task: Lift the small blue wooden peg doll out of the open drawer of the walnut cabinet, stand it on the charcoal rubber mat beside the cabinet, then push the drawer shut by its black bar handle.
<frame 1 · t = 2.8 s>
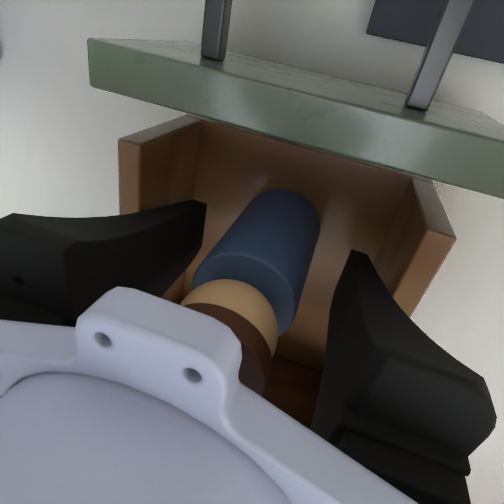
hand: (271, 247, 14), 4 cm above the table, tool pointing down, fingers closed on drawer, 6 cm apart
peg doll: (281, 225, 15), point 2 cm above the table, touching drawer
drawer: (277, 221, 13), point 4 cm above the table, slide at 10.5 cm, touching gripper, peg doll
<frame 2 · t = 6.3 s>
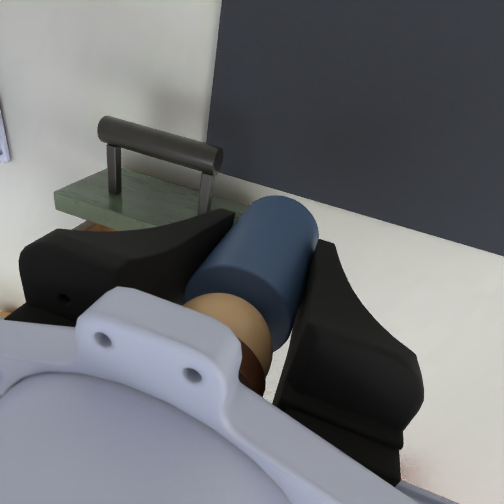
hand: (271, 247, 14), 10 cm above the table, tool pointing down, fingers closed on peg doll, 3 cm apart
mat: (388, 93, 19), on the table
peg doll: (278, 232, 15), point 9 cm above the table, touching gripper
drawer: (161, 264, 25), point 4 cm above the table, slide at 10.5 cm
when the fingers open (2 cm above the table, at t = 9.0 s): peg doll stays where it is, resting on mat.
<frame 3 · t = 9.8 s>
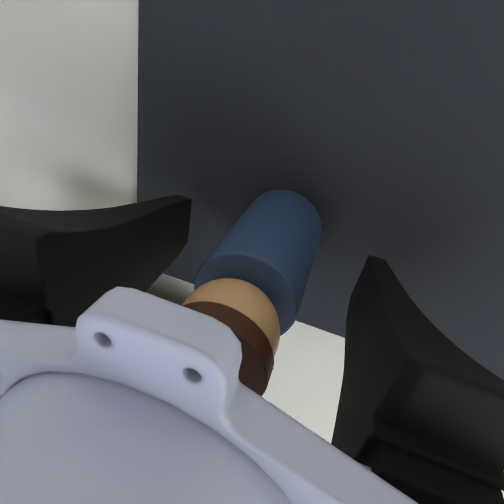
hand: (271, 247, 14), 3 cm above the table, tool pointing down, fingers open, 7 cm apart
mat: (359, 198, 14), on the table
peg doll: (283, 225, 16), resting on mat
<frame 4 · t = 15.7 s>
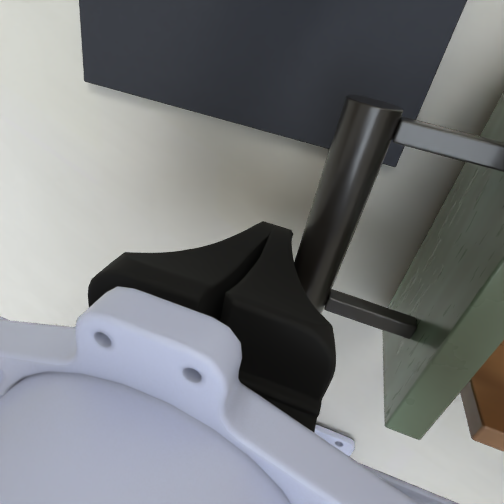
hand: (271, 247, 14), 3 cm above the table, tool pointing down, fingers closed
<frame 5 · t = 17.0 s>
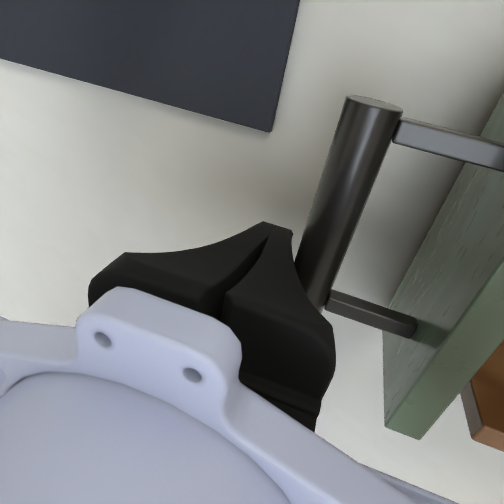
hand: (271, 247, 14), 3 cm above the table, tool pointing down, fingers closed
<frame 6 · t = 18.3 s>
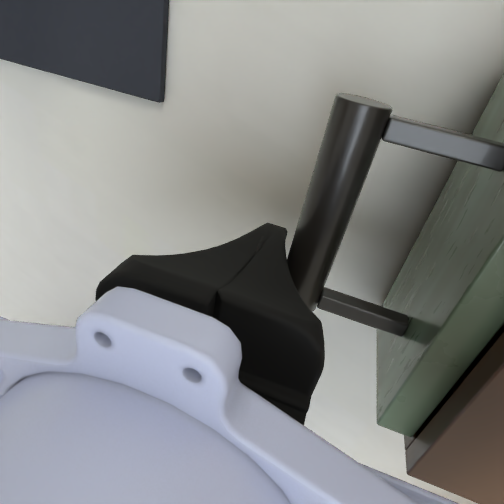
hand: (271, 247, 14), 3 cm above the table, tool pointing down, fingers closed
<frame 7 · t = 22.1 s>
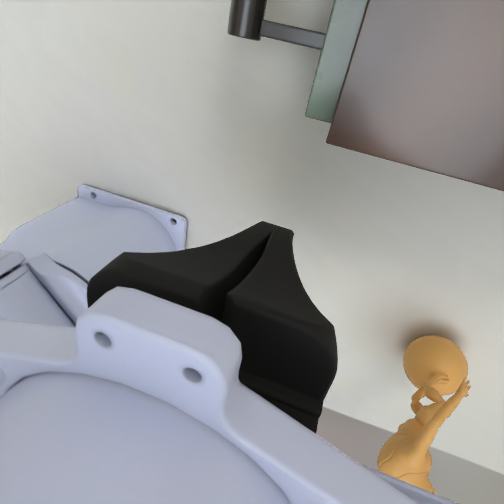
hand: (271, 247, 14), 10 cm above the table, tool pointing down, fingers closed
figurine: (417, 337, 26), on the table
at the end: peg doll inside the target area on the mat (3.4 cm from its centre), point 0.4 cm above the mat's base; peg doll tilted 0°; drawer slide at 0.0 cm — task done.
